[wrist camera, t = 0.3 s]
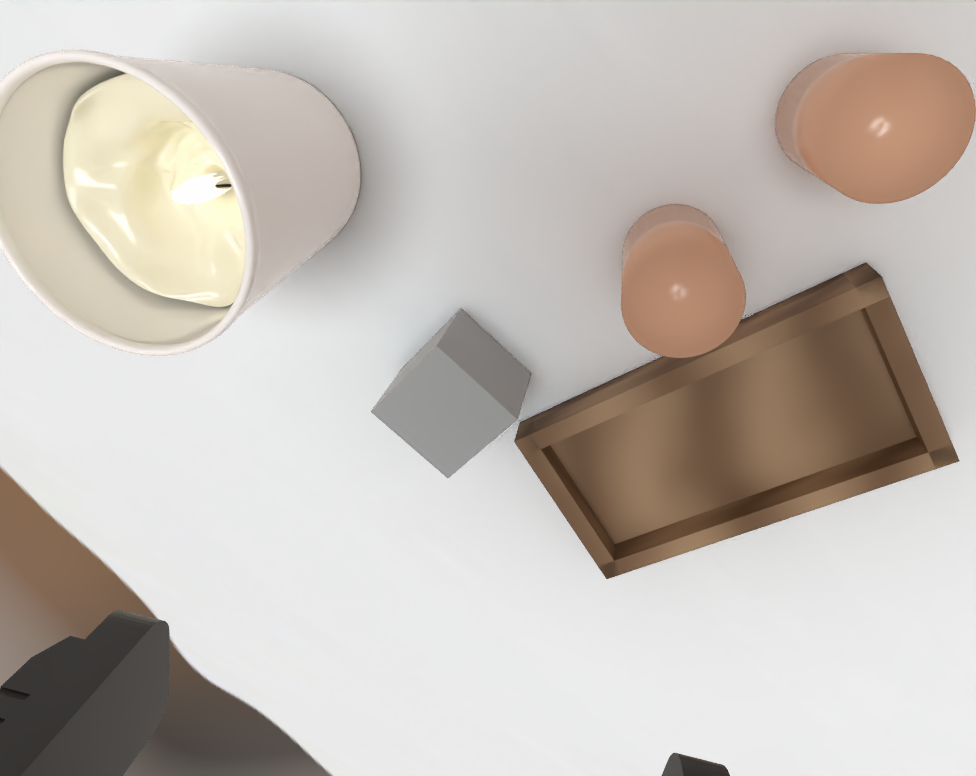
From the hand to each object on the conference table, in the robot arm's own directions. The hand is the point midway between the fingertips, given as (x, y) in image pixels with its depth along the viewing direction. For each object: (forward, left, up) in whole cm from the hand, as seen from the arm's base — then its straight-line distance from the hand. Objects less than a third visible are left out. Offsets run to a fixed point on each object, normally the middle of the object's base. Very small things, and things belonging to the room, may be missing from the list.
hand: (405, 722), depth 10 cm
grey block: (+7, +2, -25) cm, 26 cm away
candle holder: (+9, -11, -25) cm, 29 cm away
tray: (-3, +11, -25) cm, 27 cm away
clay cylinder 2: (-13, 0, -25) cm, 28 cm away
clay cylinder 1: (-5, +2, -25) cm, 25 cm away
